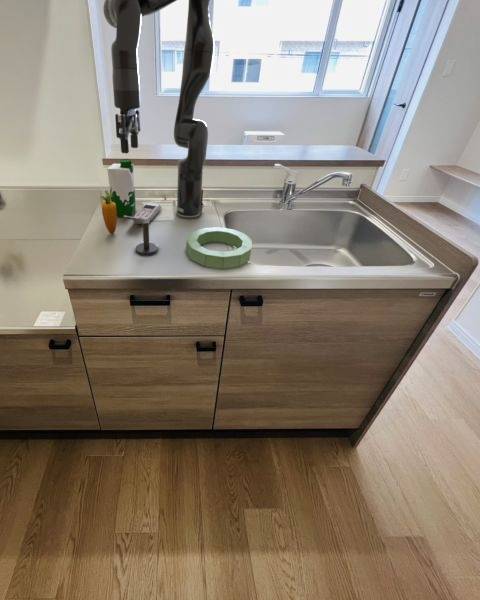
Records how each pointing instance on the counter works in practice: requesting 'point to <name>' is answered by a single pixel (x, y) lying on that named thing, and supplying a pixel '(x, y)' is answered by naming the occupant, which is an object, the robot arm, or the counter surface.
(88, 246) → the counter surface
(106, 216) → the carrot
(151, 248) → the peg stand
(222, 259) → the ring
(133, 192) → the milk carton
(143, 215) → the mobile phone
